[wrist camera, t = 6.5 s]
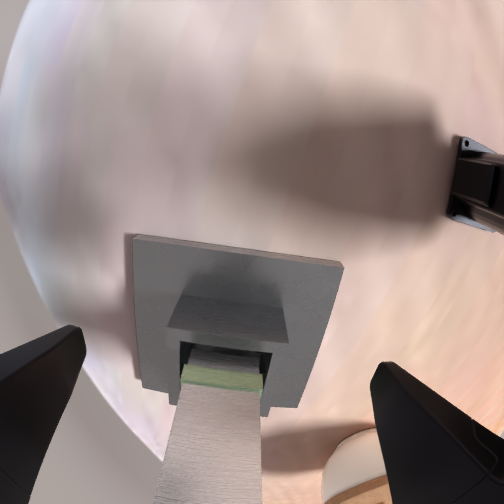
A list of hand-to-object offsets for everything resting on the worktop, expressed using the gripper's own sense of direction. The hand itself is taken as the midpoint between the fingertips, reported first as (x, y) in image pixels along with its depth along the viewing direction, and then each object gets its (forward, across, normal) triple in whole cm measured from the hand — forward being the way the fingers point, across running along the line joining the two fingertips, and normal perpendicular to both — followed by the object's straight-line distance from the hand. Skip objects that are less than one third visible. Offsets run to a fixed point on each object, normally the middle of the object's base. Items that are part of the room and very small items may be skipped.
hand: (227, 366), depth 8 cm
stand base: (+12, 0, +8) cm, 14 cm away
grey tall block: (+7, 0, +8) cm, 11 cm away
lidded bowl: (+12, -17, +24) cm, 32 cm away
